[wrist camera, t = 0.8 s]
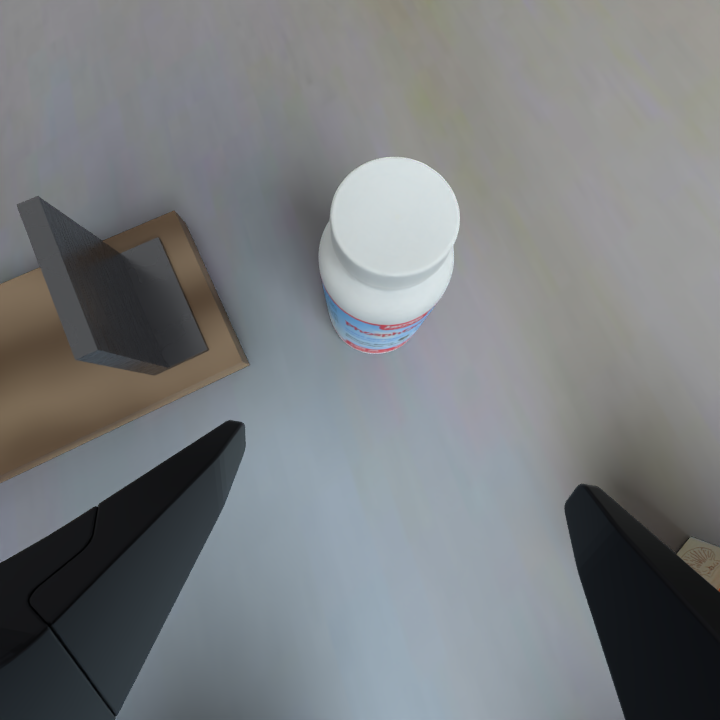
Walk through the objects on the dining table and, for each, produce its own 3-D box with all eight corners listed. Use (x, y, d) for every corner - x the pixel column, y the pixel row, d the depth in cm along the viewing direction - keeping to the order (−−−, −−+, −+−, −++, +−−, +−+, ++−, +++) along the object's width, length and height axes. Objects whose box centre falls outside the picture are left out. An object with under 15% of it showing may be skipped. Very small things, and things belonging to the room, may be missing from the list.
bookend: (209, 350, 21) (153, 324, 15) (154, 375, 21) (74, 360, 15) (160, 239, 22) (90, 175, 16) (108, 261, 22) (16, 204, 16)
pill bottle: (349, 369, 23) (345, 324, 11) (316, 285, 23) (282, 168, 12) (434, 335, 23) (510, 262, 12) (399, 255, 24) (439, 115, 13)
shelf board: (249, 365, 22) (242, 361, 21) (-61, 511, 21) (-92, 519, 19) (185, 223, 24) (174, 210, 22) (-109, 349, 22) (-142, 344, 21)
